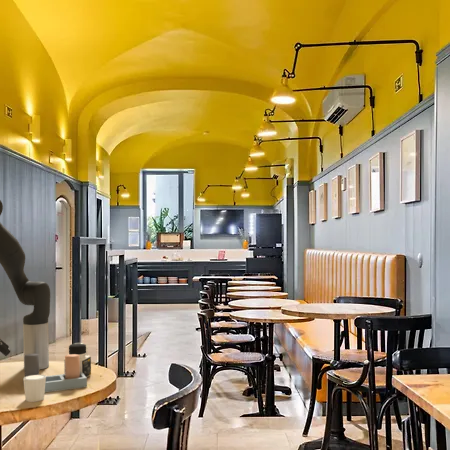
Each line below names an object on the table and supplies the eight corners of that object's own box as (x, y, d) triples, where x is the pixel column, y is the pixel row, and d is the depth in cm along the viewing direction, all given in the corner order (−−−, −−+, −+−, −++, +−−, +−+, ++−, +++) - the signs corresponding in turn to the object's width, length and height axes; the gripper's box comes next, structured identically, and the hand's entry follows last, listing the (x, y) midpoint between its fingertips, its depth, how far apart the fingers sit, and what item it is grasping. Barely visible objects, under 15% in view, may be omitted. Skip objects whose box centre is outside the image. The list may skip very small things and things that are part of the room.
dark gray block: (24, 383, 201) (23, 354, 201) (38, 381, 203) (38, 353, 203) (25, 386, 197) (25, 357, 197) (40, 384, 199) (39, 355, 199)
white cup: (50, 396, 184) (50, 375, 184) (37, 403, 178) (37, 380, 178) (32, 395, 187) (32, 373, 187) (18, 401, 180) (18, 378, 180)
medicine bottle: (82, 380, 204) (82, 346, 204) (64, 379, 206) (63, 345, 206) (91, 374, 211) (90, 342, 211) (73, 374, 212) (72, 341, 213)
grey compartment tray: (37, 385, 197) (37, 356, 197) (82, 380, 203) (81, 352, 203) (40, 392, 189) (40, 362, 189) (87, 386, 195) (86, 357, 195)
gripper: (-21, 314, 187) (17, 346, 191) (-22, 309, 200) (14, 339, 204) (-39, 332, 185) (0, 364, 189) (-38, 326, 198) (-2, 355, 202)
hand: (7, 351), depth 197 cm, fingers open, 8 cm apart
